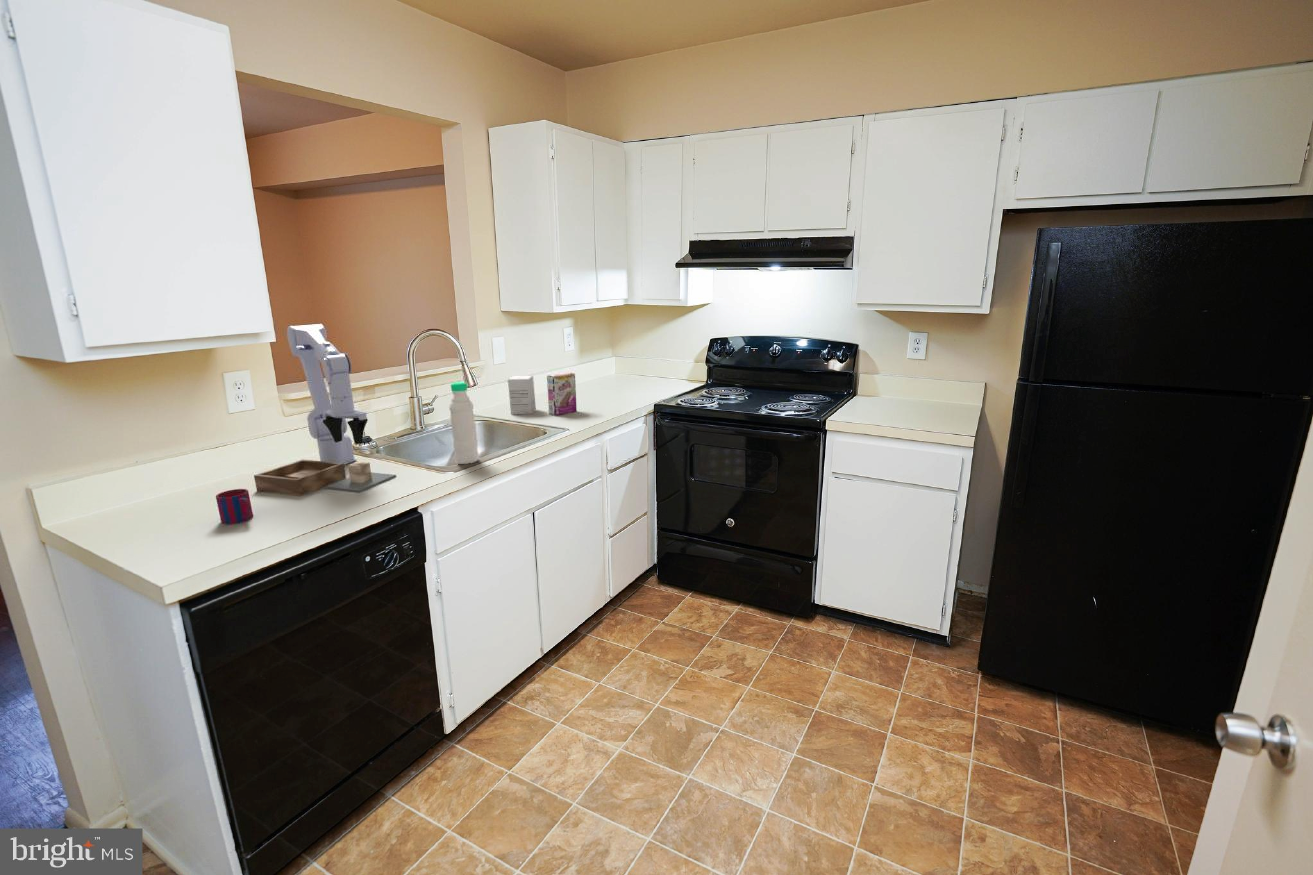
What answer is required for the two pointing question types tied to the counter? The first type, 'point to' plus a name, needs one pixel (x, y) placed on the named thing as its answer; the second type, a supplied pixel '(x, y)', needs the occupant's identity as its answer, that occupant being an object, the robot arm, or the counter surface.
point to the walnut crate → (300, 477)
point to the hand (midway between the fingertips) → (348, 442)
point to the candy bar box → (561, 393)
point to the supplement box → (521, 395)
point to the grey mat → (359, 487)
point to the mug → (234, 506)
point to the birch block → (359, 472)
